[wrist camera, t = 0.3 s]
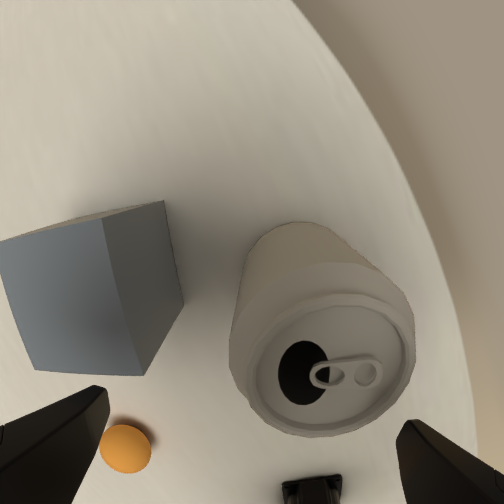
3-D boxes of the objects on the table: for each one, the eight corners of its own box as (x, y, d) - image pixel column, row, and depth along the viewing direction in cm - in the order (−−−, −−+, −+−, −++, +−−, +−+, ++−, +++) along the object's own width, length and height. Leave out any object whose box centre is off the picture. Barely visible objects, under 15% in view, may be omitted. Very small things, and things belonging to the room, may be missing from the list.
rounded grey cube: (183, 305, 22) (143, 375, 14) (96, 312, 23) (34, 370, 14) (163, 200, 20) (101, 218, 12) (73, 218, 21) (-7, 243, 12)
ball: (163, 450, 26) (151, 486, 21) (120, 446, 26) (105, 478, 21) (147, 415, 25) (130, 453, 20) (102, 412, 25) (82, 445, 20)
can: (236, 226, 21) (204, 291, 9) (348, 214, 20) (444, 262, 9) (250, 329, 22) (239, 459, 11) (352, 317, 22) (416, 431, 10)
